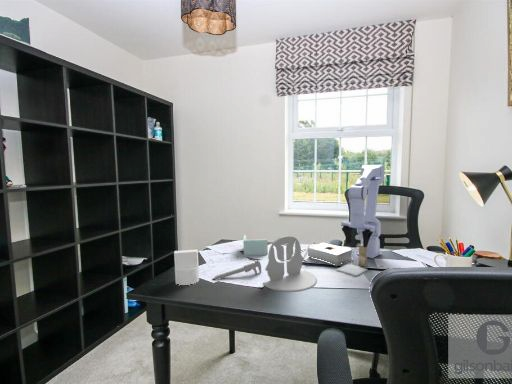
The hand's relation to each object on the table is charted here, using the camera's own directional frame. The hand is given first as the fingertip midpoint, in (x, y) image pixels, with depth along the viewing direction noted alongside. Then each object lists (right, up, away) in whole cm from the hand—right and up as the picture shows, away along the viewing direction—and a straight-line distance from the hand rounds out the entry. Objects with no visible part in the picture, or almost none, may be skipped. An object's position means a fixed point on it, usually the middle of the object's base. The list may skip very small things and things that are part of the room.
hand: (357, 244), depth 120 cm
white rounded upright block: (-71, -12, -11) cm, 73 cm away
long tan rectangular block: (+3, -9, +2) cm, 10 cm away
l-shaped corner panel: (-44, -8, +26) cm, 51 cm away
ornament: (-29, -12, -15) cm, 34 cm away
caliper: (-51, -12, -7) cm, 53 cm away
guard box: (-9, -9, +11) cm, 17 cm away
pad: (-4, -10, -4) cm, 11 cm away
